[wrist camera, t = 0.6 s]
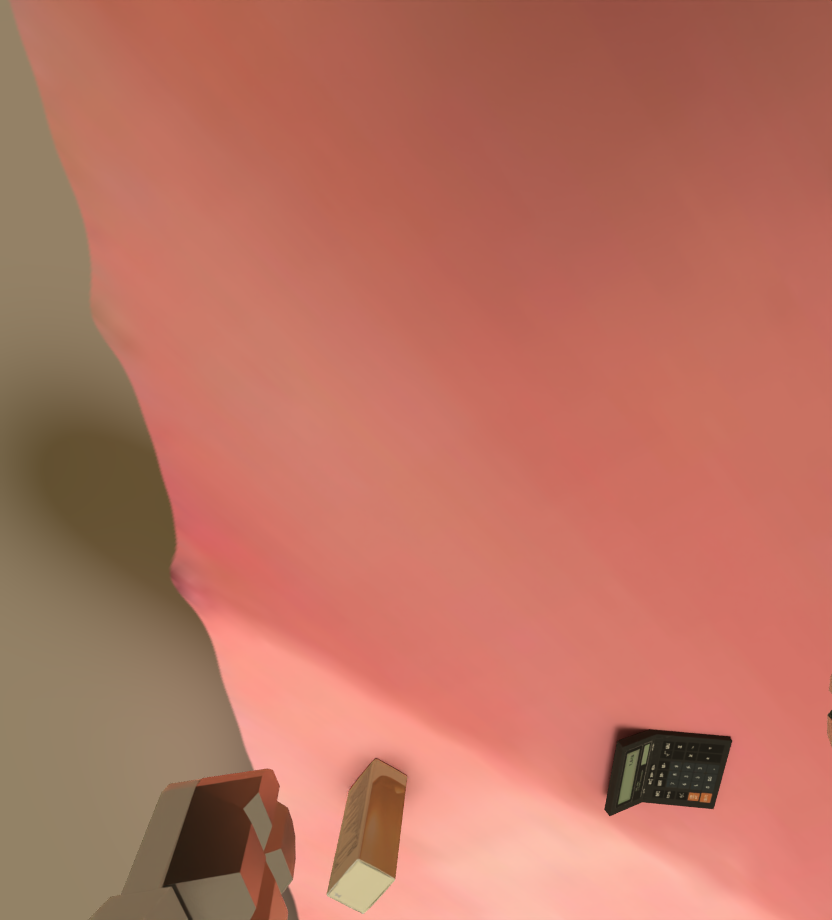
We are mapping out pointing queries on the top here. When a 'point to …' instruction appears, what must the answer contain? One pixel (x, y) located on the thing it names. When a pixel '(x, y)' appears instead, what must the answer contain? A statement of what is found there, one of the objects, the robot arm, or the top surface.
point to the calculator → (667, 770)
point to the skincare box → (369, 838)
